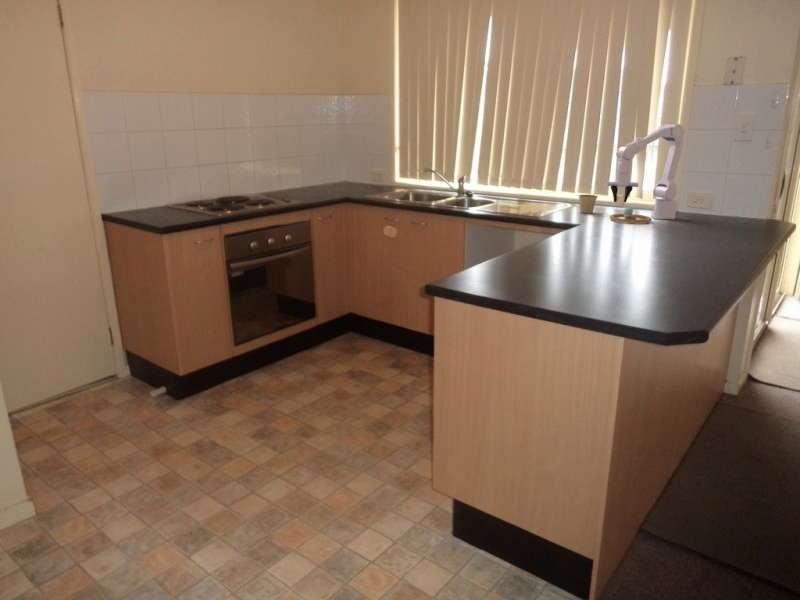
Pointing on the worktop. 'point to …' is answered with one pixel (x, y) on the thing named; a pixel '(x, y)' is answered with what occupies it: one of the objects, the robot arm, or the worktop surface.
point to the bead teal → (628, 211)
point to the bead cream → (620, 200)
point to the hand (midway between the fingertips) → (619, 202)
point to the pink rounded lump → (390, 231)
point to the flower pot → (587, 203)
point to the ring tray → (630, 219)
